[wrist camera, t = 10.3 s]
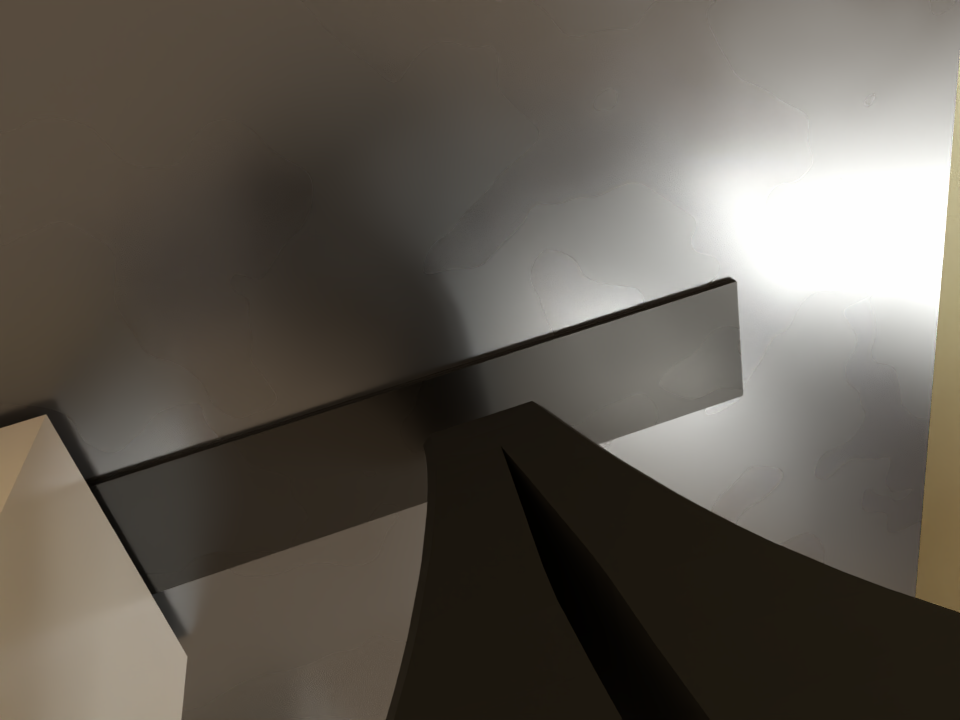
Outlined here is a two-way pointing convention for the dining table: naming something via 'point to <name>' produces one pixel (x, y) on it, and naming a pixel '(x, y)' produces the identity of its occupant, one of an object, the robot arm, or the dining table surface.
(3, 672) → the breaker
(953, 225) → the dining table surface
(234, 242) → the breaker panel
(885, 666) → the robot arm
